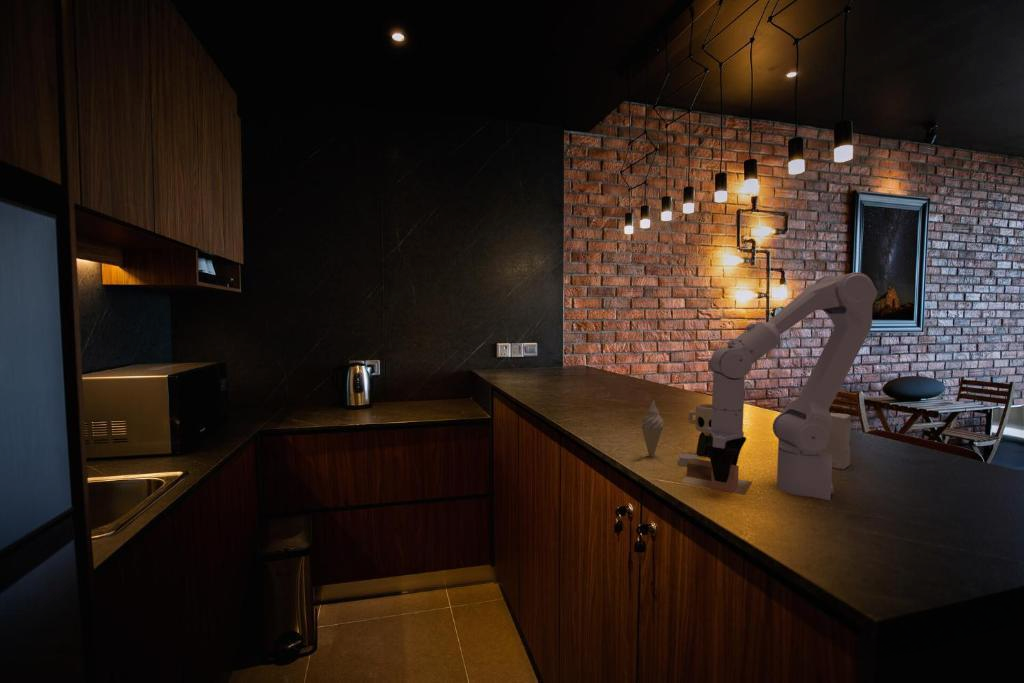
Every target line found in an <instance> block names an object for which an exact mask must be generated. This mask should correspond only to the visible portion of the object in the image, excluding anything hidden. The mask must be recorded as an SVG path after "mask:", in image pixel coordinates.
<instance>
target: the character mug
mask: <svg viewBox="0 0 1024 683" xmlns="http://www.w3.org/2000/svg"><path fill="white" fill-rule="evenodd" d="M693 415H695V419H693ZM687 416H688V417H687V418H688V419H687V420H688V423H689V424H692V425H694V426H695V430H696V431H698V432H699V433H700V434H699V435H698V440H697V445H696V451H695V452H696V454H695V455H698V457H702V458H703V457H704V456H705V457H706V456H707V458H709V459H710V457H709V455H708V453H707V451H706V449H705V444H706V443H707V442H708V443H713V437H712V435H711V433H709V432H705V428H706V427H711V420H712V403H698V404H697V403H696V406H695V410H689V411H688V415H687ZM705 457H704V458H705Z"/></svg>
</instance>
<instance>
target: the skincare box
mask: <svg viewBox="0 0 1024 683" xmlns="http://www.w3.org/2000/svg"><path fill="white" fill-rule="evenodd" d="M830 415H831V418H832V420H833V424H832V426H831V428H830V432H829V435H830V438H829V443H828V445H827V446H826V448H825V449H824V450H823V453H825V454H830V455H833V458H832V469H833V468H835V469H838V470H844V469H846V468H848V467H849V466H850V465H851V464H850V463H851V418H852V417H851V415H850V414H846V413H838V412H830Z"/></svg>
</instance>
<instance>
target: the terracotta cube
mask: <svg viewBox="0 0 1024 683" xmlns="http://www.w3.org/2000/svg"><path fill="white" fill-rule="evenodd" d="M739 468H740V467H739V465H731V467H730V472H729V477H728V480H727V482H726V483H724V482H719V481H715V479H714V475H713V469H712V474H711V488H710V489H712V488H713V490H717V489H718V491H722V490H723V491H724V492H727V491H728V493H732V492H733V493H734V492H735V490H736V489H737V487H738V479H739V472H740V469H739ZM734 494H735V493H734Z"/></svg>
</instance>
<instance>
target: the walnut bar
mask: <svg viewBox="0 0 1024 683" xmlns="http://www.w3.org/2000/svg"><path fill="white" fill-rule="evenodd" d="M711 474H712V464H711V460H704V459H700V458H698V459H694V458H692V459H691V460H690V461H689V462H688V463H687V467H686V476H689V477H695V478H700V479H705V480H710V481H711Z"/></svg>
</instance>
